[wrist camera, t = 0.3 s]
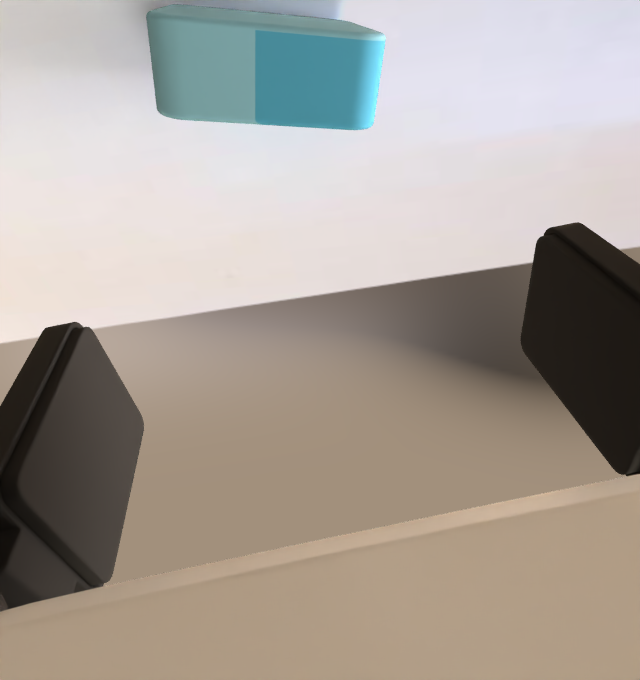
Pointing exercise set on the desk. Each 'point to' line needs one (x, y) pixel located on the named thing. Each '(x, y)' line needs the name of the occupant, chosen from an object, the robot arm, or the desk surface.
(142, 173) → the desk surface
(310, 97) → the light blue box
